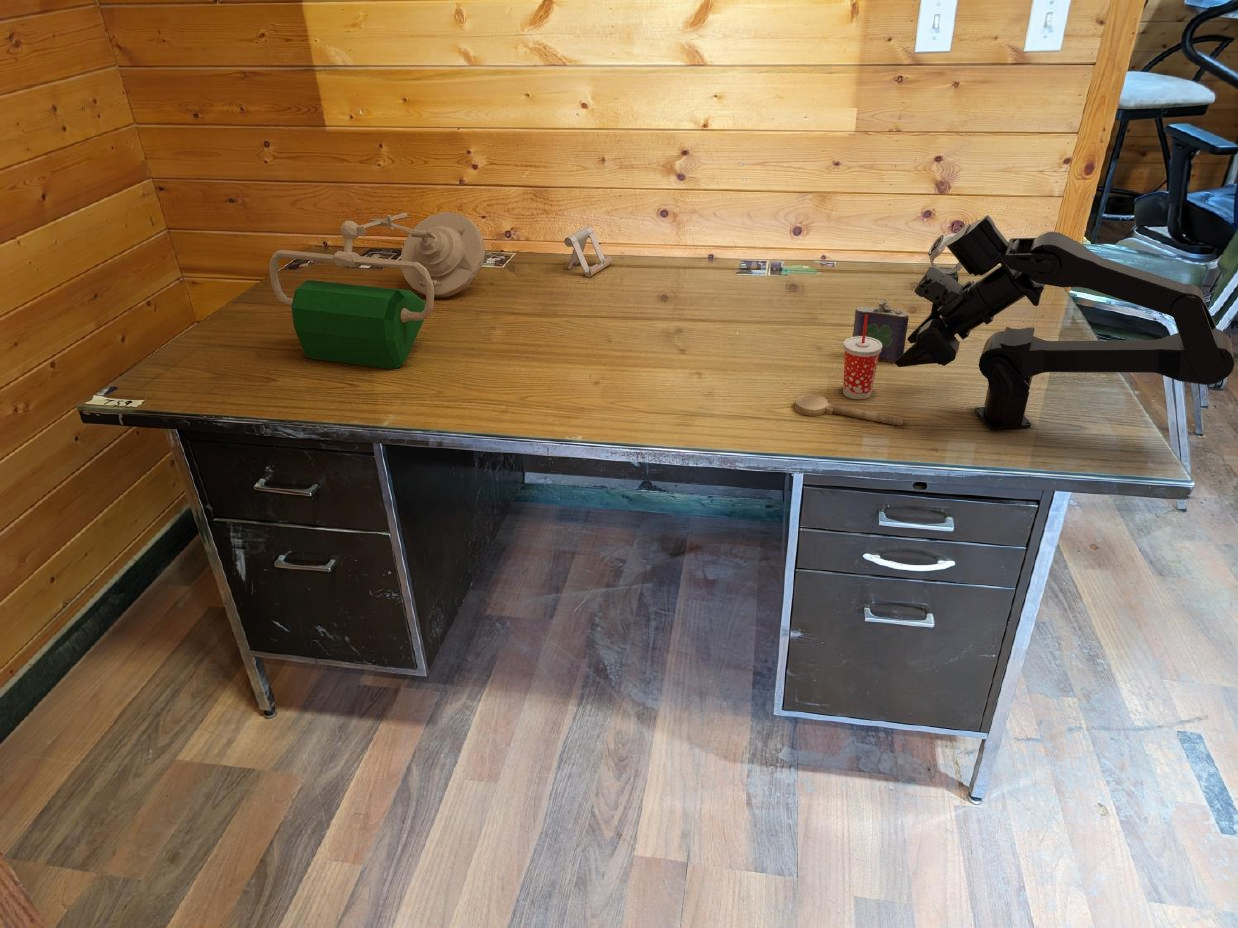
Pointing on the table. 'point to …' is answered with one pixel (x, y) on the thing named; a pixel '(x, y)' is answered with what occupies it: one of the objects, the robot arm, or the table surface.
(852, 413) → the spoon
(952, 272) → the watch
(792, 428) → the table surface
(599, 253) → the tablet stand
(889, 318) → the flask
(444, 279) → the banker's lamp
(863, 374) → the beverage cup
